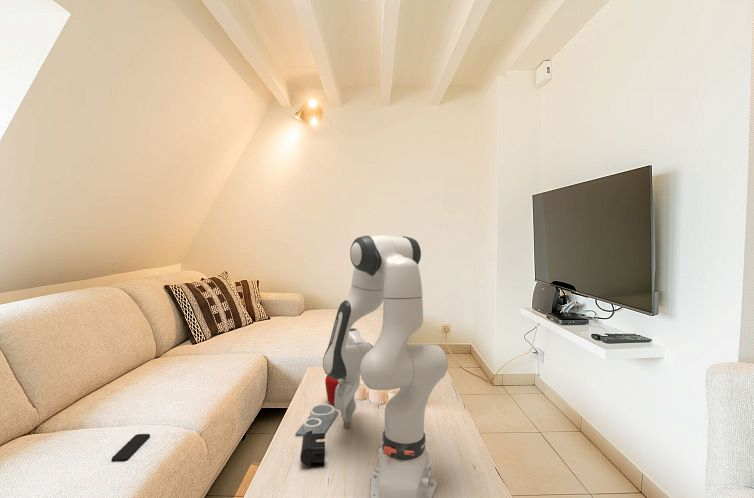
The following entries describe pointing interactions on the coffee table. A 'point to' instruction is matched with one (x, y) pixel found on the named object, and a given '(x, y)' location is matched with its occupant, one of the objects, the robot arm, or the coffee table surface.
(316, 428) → the socket board
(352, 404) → the lightbulb
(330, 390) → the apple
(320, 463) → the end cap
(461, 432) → the coffee table surface
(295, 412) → the coffee table surface
